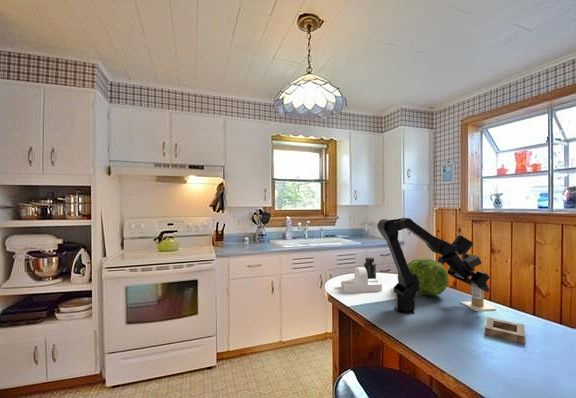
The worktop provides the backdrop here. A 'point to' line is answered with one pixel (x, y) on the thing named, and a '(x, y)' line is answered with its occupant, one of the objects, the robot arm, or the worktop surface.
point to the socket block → (505, 330)
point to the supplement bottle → (370, 268)
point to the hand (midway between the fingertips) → (479, 287)
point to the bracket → (361, 282)
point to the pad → (476, 308)
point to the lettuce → (429, 276)
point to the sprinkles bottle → (477, 296)
